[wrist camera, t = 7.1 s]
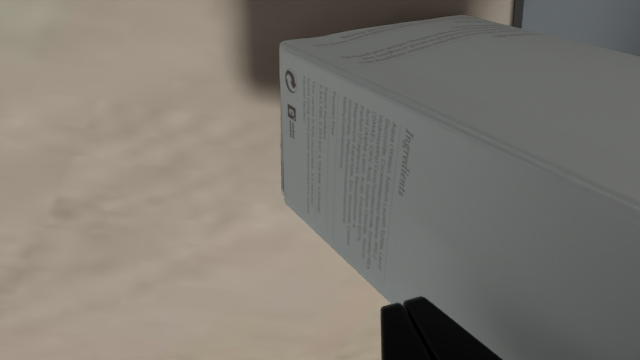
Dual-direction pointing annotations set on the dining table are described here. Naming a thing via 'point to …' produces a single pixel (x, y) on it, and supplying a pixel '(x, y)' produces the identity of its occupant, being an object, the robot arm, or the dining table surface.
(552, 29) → the mat
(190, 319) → the dining table surface
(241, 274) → the dining table surface
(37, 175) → the dining table surface
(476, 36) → the skincare box
